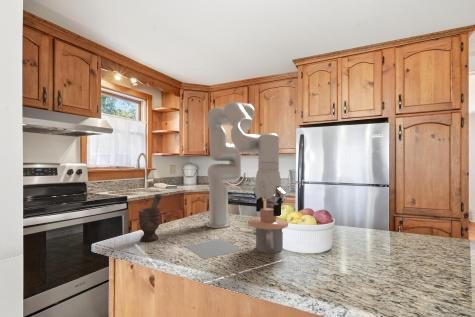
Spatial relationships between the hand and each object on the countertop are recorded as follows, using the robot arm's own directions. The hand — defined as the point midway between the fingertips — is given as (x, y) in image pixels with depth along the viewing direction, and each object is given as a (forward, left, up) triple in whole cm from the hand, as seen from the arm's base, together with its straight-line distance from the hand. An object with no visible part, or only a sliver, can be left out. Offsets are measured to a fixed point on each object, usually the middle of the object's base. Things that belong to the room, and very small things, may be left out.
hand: (268, 213), depth 97 cm
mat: (-13, -16, -14) cm, 25 cm away
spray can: (-25, +26, -14) cm, 39 cm away
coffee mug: (0, 0, -14) cm, 14 cm away
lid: (0, 0, -4) cm, 4 cm away
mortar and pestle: (-35, -32, -14) cm, 49 cm away
